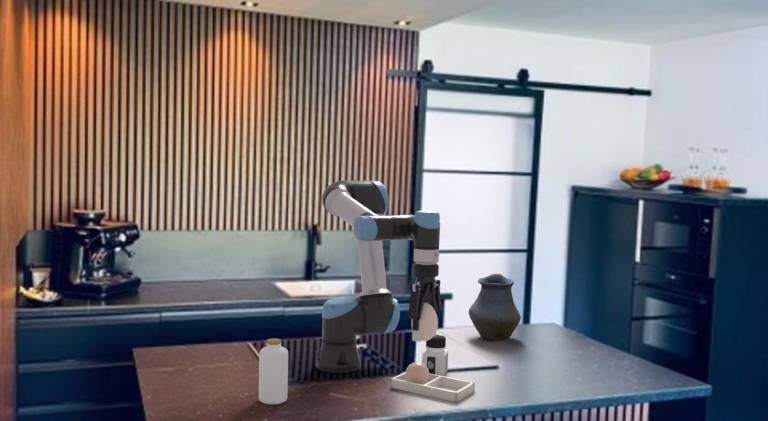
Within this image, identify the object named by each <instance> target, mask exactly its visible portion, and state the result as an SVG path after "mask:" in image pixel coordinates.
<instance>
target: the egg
mask: <svg viewBox="0 0 768 421" xmlns="http://www.w3.org/2000/svg"><path fill="white" fill-rule="evenodd" d="M420 319H421V320H422V337H421V342H426V341H427V340H430V339H431V338H432V337H433V336H434V335H435V333H436V334H437V331H438V328H439V318H438V314H437V315H436V312H435V310H434V308H433V307H432V306H431V305H430V304H428V303H427V302H424V305H423V309H422V313H421V317H420ZM412 327H413V320H412V319H411V331H413V329H412Z"/></svg>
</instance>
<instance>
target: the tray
mask: <svg viewBox="0 0 768 421" xmlns="http://www.w3.org/2000/svg"><path fill="white" fill-rule="evenodd" d="M405 374H406V371H404V372H402V373H400V374H399V375H396V376H393V377H391V378H390V389H391V388H392V389H396V390H401V391H405V392H410V393H414V394H418V395H423V396H427V397H432V398H436V399H441V400H445V401H449V402H450V401H451V402H453V403H454V402H455V403H458V402H460V401H461V400H463V399H465V398H466V397H468V396H469V395H471V394H473V393H474V392H475V387H476V386H475V385H476V384H475V382H473V381H469V380H464V379H459V378H454V377H451V376H446V375H445V376H441V375H435V374H431V373H429V379H428V381H427V382H426V383H425V384H424V385H422V384H417V383H413V382H408V381H407V379H406V375H405Z"/></svg>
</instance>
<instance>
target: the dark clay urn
mask: <svg viewBox="0 0 768 421" xmlns="http://www.w3.org/2000/svg"><path fill="white" fill-rule="evenodd" d="M477 283H478V284H480V291H479V293H478V294H477V297H476V299H475V300H474V302H473V303H472V305H471V306H470V307H469V309H468V316H469V318H470V320H471V322H472V324H473V326H474V327H475V330H476V331H477V332H478V334H479V336H480V338H481V339H483V340H485V341H503V340H508V339H510V338H511V336H512V335H513V333H514V332H515V330H516V329H517V327H518V326H519V324H520V322H521V320H522V319H521V314H520V312H519V310H518V308H517V307H516V304H515V301H514V296H513V292H512V287H513V286H514V284H515V282H514V280H513V279H511V278H507V277H505V276H504V275H503V274H501V273H491V274H490V275H487V276H484V277H481V278H478V280H477Z"/></svg>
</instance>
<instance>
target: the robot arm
mask: <svg viewBox="0 0 768 421" xmlns="http://www.w3.org/2000/svg"><path fill="white" fill-rule="evenodd" d="M321 201H322V206H323V208H324V210H325V211H327V213H329V214H330V215H332V216H334V217H339V218H340V219H342V220H343V221H344V222H345V223H347V224H349V225H350V226H351V227H352V228H353V234H354V236H355V239H356V240H357V247H358V248H357V249H358V250H357V251H358V258H359V259H358V261H359V268H360V270H359V271H360V279H361V280H360V282H361V292H360V293H359V295H358V299H357V297H355V296H345V295H344V296H337V297H332V298H329V299H327V300H326V301H325V302H324V303H323V305H322V313H321V319H322V321H321V324H322V325H321V346H320V347H319V348H320V349H319V350H318V355H317V357H316V360H315V361H316V362H315V364H316V365H315V367H316V369H318V370H320V371H322V372H326V373H331V374H333V373H335V374H347V373H353V372H356V371H358V370H360V369H361V366H362V364H361V362H362V361H361V357H360V354H359V351H358V347H357V346H358V345H357V336H365V335H378V334H381V335H383V334H387V333H392V332H394V330H396V328H397V326H398V324H399V321H400V318H401V317H400V316H401V310H400V309H401V308H400V304H399V301H398V300H397V299H396V298H394V297H393V294H392V291H390V290H389V289H388V288H387V286H388V285H387V278H386V268H385V259H384V258H385V257H384V256H385V255H384V248H383V241H408V240H409V241H413V262H414V264H413V270H412V271H413V272H412V273H413V274H412V275H413V276H415V277H416V282H415V283H410V287H409V288H410V293H409V294H410V296H409V304H408V313H407V317H408V318H409V319H410V320H411V321H412V320H413V327H411V331H412V334H411V337H412V341H413V342H419V343H420V342H422V340H421V337H422V320H421V319H420V317H421V313H422V309H423V305H424V303H425V299H426V303H428V304H430V305H431V306H432V307H433V308H434V310H435V312H436V315H437V316H439V315H441V311H442V303H441V280H440V279H436V278H437V277H438V276H439V270H440V268H439V267H440V264H439V262H440V260H439V259H440V237H441V232H440V231H441V222H440V221H441V218H440V217H441V216H440V213H439V212H438V211H437V210H436V211H434V210H417V211H415V214H401V215H384V214H385V213H386V212H387V211H388V209H389V204H390V200H389V192H388V191H387V188H386V186H385V185H384V184H383V183H382V182H381V181H377V180H376V181H375V180H342V179H341V180H337V181H334V182H332V183H331V184H329V185H328V186H327V187H326V188H325V190H324V191H323V193H322V197H321ZM412 329H413V330H412ZM436 334H437V332H436V333H435V335H434V336H436Z"/></svg>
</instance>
